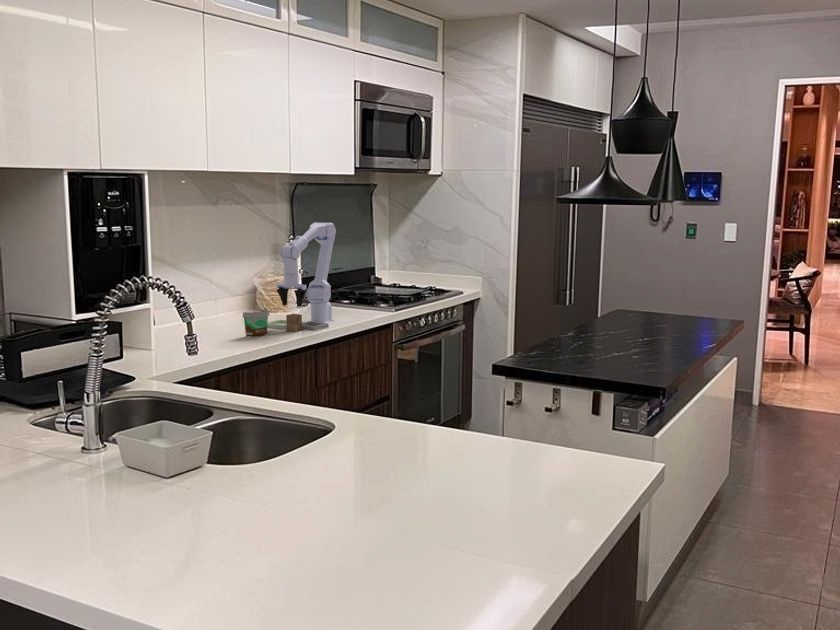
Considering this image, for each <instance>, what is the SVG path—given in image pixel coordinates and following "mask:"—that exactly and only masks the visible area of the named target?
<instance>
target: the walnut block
mask: <svg viewBox="0 0 840 630" xmlns="http://www.w3.org/2000/svg"><path fill="white" fill-rule="evenodd" d="M285 318H286V319H285V320H287V329H286V330H287V331H286V332H289V331H299V332H301V331H300V330H302V323H303V314H299V313H291V314H286V317H285Z"/></svg>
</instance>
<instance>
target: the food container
mask: <svg viewBox="0 0 840 630" xmlns="http://www.w3.org/2000/svg"><path fill="white" fill-rule="evenodd" d="M269 316H270V312H269V310H268V308H264V309H263V310H262V311H252V312H247V311H246V312H245V311H243V313H242V318H243V322H244V323H243V324H244V330H245V336H246V337H248V336H251V337H250V338H254V337H255V338H256V337H258V338H259V337H264V336H265V337H266V334H268V327H267V323H268V322H269V321H268V317H269Z"/></svg>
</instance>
